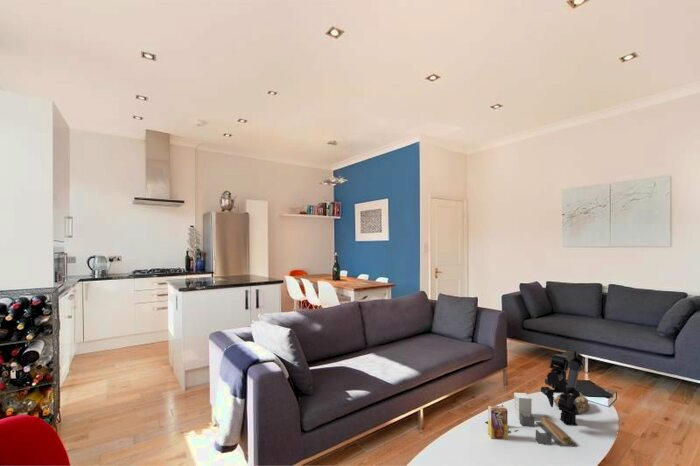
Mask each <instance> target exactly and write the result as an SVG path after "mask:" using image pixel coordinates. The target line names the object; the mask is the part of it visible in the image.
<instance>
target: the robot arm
mask: <svg viewBox="0 0 700 466" xmlns="http://www.w3.org/2000/svg"><path fill="white" fill-rule="evenodd" d="M549 363H550V364H549V366H548V367H549V368H550V369H551V371H550V372H548V373H547V374H546V378H544V384H545V385H547V386H541V387H540V392H541V393H542V394H544V395H545V396H546V398H547V400H548V403H549V405H550V407H551V408H553V407H554V403H555V402H554V399H555V395H554V394H559V395H560V394H561V395H560V399H559V401H558V410H559V411H561V412H560V418H559V421H561V422H562V423H563V424H564V425H567V426H578V422H576V421H577V420H576V419H577V418H576V417H577V416H579V414H578V412H579V409H578V407H577V405H576V400H575V399H576V398H578V397H580V393H581V392H580V391H579V390H578V389H576V388H577V383H578V378H579V373H580V372H581V371H583V369H584V366H585V365H586V360H585V357H584V356H583V355H581V354H580V353H579V351H577V350H575V349H570V348H567V350H566V351H564V352H563V353H561V354H557V353H555V354H553V355H552V357H551V359H550V362H549ZM567 371H568V375H567ZM550 387H551V388H550ZM562 393H564V394H562Z"/></svg>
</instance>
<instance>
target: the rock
mask: <svg viewBox="0 0 700 466" xmlns="http://www.w3.org/2000/svg"><path fill="white" fill-rule="evenodd" d="M561 394H564V393H559V394H557V396H556V397H555V398H554V402H553V403H554V405H555V406H558V401H559V399H560V395H561ZM575 400H576V405H577V407H578V409H579V412H578V415H580V414H583V413H585V412H586V411H589V410H590V409H591V406H590V404H589V400H588V399H587V397H586V396H585V395H583V393H582V392H580V397H578V398H576V399H575ZM558 407H559V406H558Z"/></svg>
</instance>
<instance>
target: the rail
mask: <svg viewBox="0 0 700 466" xmlns="http://www.w3.org/2000/svg"><path fill="white" fill-rule="evenodd" d="M541 422H542V424H543V425H544V426H545V427H546V428H547V429H548V430H549V431H551V432H552V433H553V434H554V435H555V436H556V437H557V438H558V439H559V440H560V441H561V442H562V443H563V444H565V445H571V441H572V437H571V436H570V435H569V434H567V432H565V431H564V430H563V429H562V428H561V427H559V425H557V424H556V423H555V422H554V421H553V420H552V419H551V418H550V417H548V416H541Z"/></svg>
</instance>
